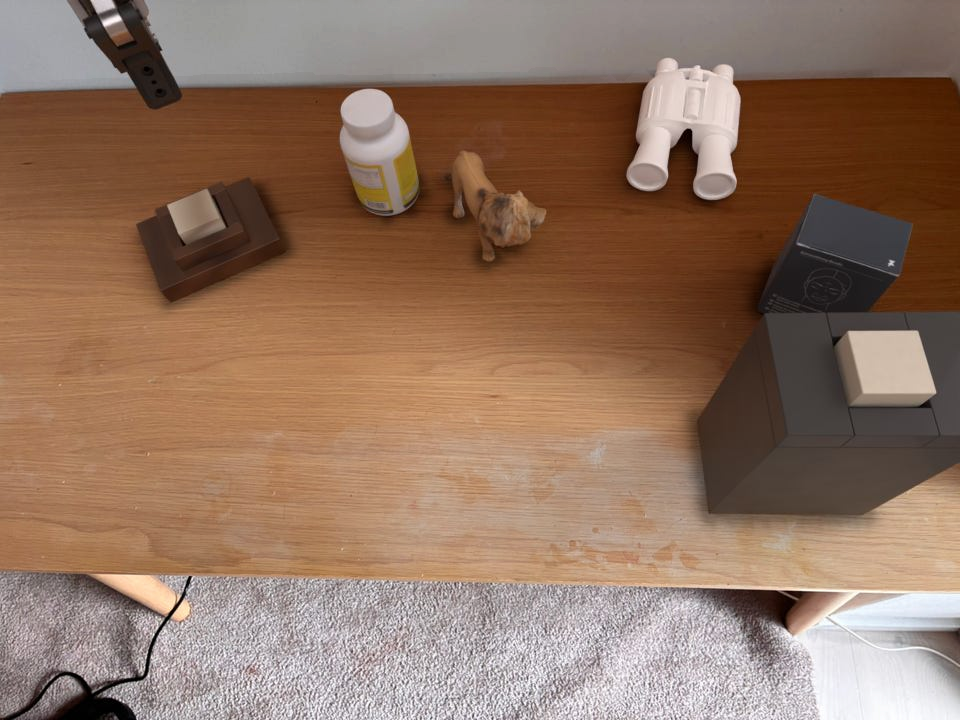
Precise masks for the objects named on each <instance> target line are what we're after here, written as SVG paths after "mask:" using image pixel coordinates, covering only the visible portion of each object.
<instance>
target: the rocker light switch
mask: <svg viewBox="0 0 960 720" xmlns="http://www.w3.org/2000/svg"><path fill="white" fill-rule="evenodd" d="M204 189H208V191H209V193H210V194H211V196H212V198H213V199H214V201H215V203H216V206H217V208H218V210H219V212H220V215H221V217H222V219H223V221H224V224H225V226H226V228H225V229H223V230H220V231H218V232H216V233H213V234H211V235H209V236H206V237H204V238H202V239H199V240H197V241H195V242H192V243H190V244H188V245H186V244H185V243H184V241H183V240H182V238H181V237H180V236H179V234H178V232H177V229H176V227H175V224H174V222H173V219H172V217H171V214H170V212H169V209H168V207H167V205H168V204H171V203H173V202H175V201H178V200H180V199H183V198H185V197H187V196H190V195H192V194H195V193H197V192H199V191H202V190H204ZM154 212H155V215H154V216H152V217H150V218H147V219H145V220H142V221H140V222H138V223H136V224H135V226H136V229H137V231H138V235H139V237H140V239H141V242H142V245H143V247H144V250H145V253H146V256H147V258H148V261H149V264H150V267H151V269H152V272H153V276H154V278H155V280H156V283H157V286H158V289H159V291H160V292H161V294H162V295H163V296H164V297H165V298H166V299H167V300H168V302H169V303H173V302H175V301H178V300H180V299H182V298H185V297H187V296H189V295H192V294H193V293H197V292H198V291H201V290H203V289H205V288H207V287H209V286H212V285H214V284H217V283H218V282H221V281H223V280H226V279H228V278H230V277H232V276H234V275H237V274H239V273H241V272H244V271H246V270H248V269H250V268H252V267H256V266H257V265H260V264H262V263H264V262H266V261H268V260H271V259H273V258H275V257H277V256H280V255H283V254H284V253H286V249H285V247H284V245H283V243H282V240H281V239H280V236H279V234H278V232H277V230H276V228H275V226H274V224H273V221H272V219H271V217H270V216H269V214H268V212H267V209H266V208H265V206H264V203H263V200H262V199H261V197H260V195H259V193H258V190H257V189H256V187H255V184H254V183H253V181H252V179H251V178H250V177H249V176H248V177H246V178H243V179H240V180H238V181H236V182H233V183H231V184H228V185H225V184H224V183H223V181H220V182H217V183H215V184H212V185H209V186H208V187H205V188H203V189H200V190H198V191H195V192H193V193H191V194H188V195H186V196H184V197H181V198H179V199H176V200H174V201H171V202H169V203H166V204H164V205H161V206H160V207H157V208H155V209H154Z"/></svg>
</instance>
